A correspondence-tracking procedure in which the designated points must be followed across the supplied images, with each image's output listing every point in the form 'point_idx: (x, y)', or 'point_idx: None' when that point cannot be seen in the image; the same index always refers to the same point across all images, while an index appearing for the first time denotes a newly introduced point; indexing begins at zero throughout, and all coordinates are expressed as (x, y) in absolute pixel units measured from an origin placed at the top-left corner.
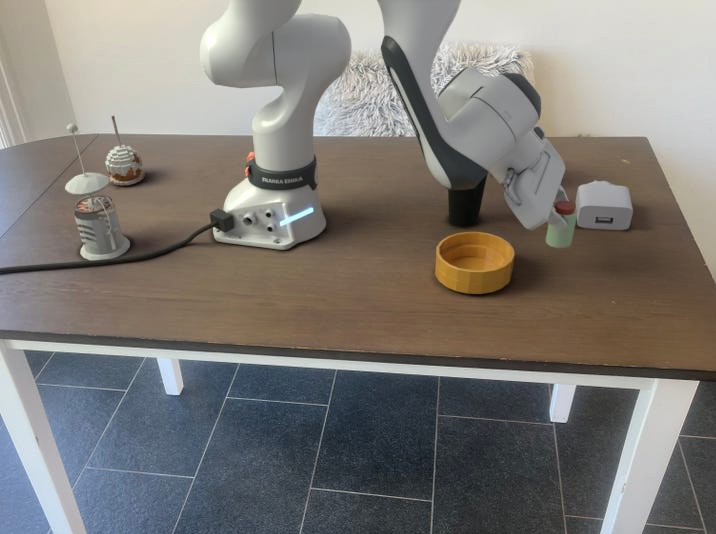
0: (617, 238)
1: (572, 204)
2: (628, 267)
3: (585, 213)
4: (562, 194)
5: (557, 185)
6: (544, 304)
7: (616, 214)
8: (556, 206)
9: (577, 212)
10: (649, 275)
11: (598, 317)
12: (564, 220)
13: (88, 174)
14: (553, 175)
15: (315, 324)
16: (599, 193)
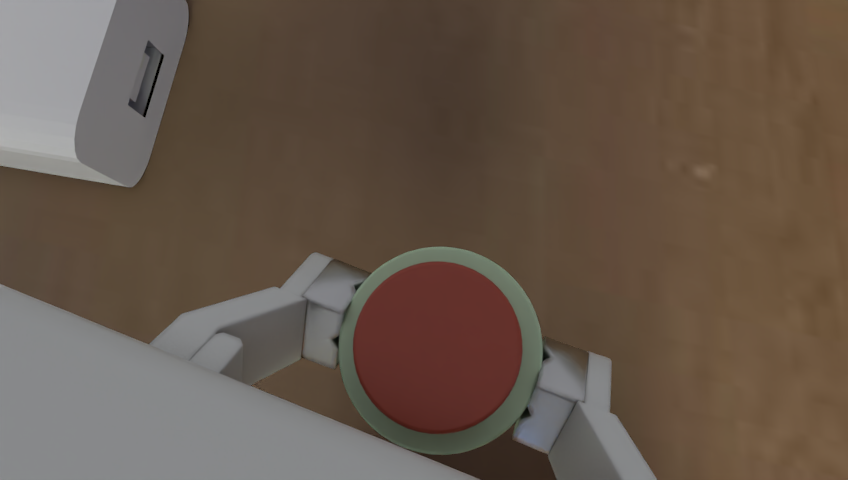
0: (244, 59)
1: (433, 284)
2: (455, 65)
3: (103, 144)
4: (248, 329)
5: (278, 427)
6: (742, 453)
7: (139, 21)
8: (459, 430)
9: (474, 253)
10: (512, 8)
11: (819, 249)
12: (584, 375)
13: None
14: (124, 474)
15: None
16: None
